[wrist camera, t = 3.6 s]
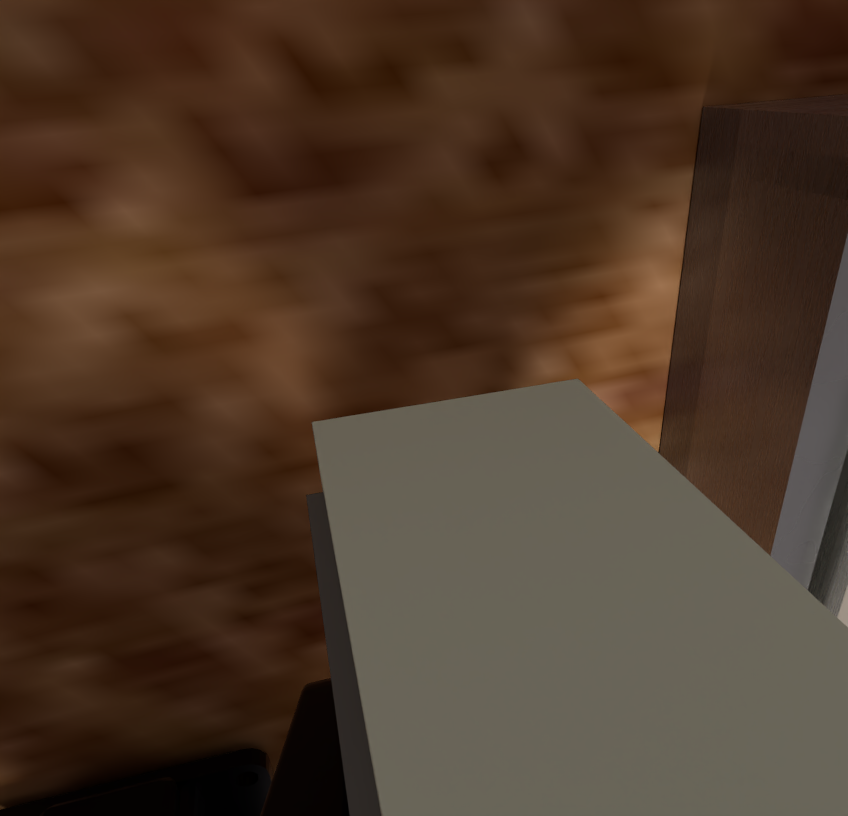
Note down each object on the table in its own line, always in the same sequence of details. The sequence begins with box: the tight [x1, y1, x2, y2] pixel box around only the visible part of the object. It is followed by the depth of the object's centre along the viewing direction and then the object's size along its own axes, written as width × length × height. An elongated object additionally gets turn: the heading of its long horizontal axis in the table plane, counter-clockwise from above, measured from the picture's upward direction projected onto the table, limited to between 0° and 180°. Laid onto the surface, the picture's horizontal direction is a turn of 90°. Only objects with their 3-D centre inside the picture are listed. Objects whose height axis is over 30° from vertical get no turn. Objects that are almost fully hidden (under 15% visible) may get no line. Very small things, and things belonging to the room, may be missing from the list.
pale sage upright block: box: [306, 379, 848, 816], centre depth 7 cm, size 6×4×6 cm, turn 3°
